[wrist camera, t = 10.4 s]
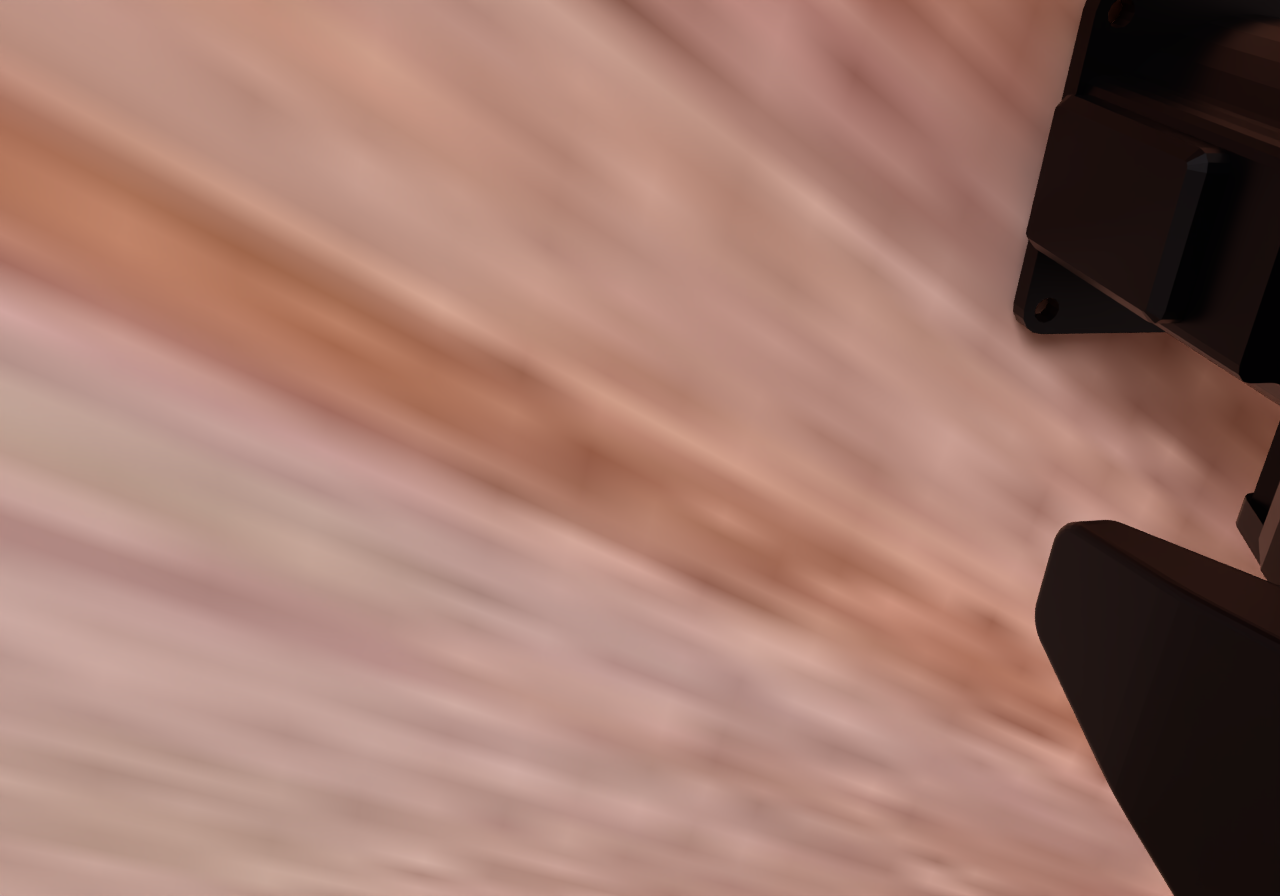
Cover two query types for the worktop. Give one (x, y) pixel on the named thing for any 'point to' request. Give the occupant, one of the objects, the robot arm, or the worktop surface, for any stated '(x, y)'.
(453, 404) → the worktop surface
